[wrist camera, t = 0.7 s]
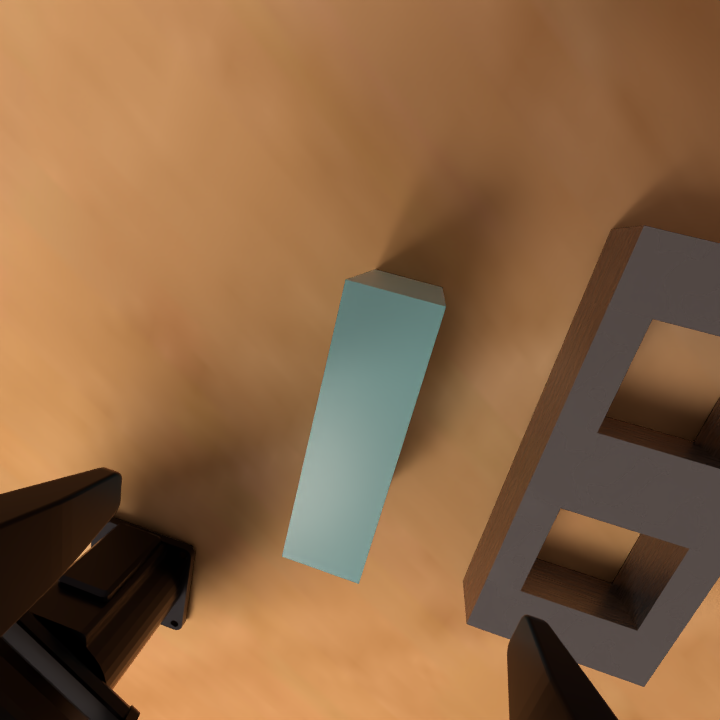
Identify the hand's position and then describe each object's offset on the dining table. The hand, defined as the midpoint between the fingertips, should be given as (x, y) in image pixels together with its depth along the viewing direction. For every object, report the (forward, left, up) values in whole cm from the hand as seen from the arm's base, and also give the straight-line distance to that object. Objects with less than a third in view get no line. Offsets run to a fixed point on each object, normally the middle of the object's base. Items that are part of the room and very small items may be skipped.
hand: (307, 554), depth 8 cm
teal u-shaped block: (0, 0, -11) cm, 11 cm away
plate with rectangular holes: (0, -11, -11) cm, 15 cm away
